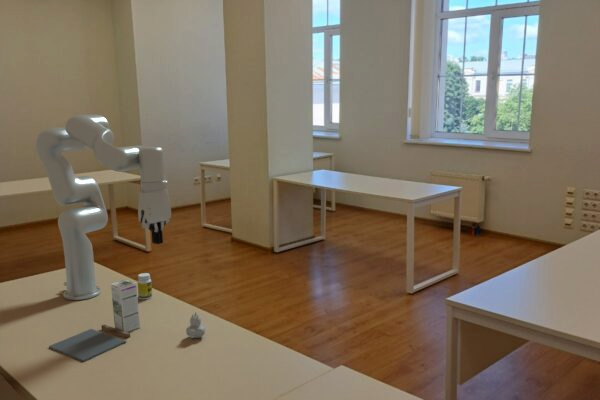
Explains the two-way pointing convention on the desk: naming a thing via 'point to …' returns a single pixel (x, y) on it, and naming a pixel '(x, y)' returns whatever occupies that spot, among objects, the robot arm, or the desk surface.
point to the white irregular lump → (195, 327)
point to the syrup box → (125, 305)
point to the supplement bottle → (144, 286)
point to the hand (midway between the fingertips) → (157, 243)
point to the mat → (87, 345)
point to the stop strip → (115, 331)
